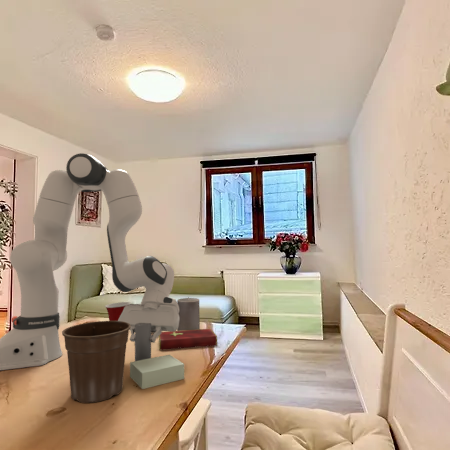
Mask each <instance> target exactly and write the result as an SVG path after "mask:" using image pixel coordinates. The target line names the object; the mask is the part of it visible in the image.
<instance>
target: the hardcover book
mask: <svg viewBox="0 0 450 450" xmlns="http://www.w3.org/2000/svg"><path fill="white" fill-rule="evenodd" d="M158 344H159V351H168V350H179V349H180V350H181V349H191V348H203V347H204V348H206V347H215V346H217V347H218V335H217V334H216V333H215V331H213V329H212V328H201V329H197V330H182V331H177V330H176V331H162V332H161V334H160V335H159V336H158Z"/></svg>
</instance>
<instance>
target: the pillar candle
mask: <svg viewBox="0 0 450 450" xmlns="http://www.w3.org/2000/svg"><path fill="white" fill-rule="evenodd" d="M176 301H177V303H178V306H179V317H180V319H179V326H178V329H177V330H176V331H182V330H197V329H200V328H201V326H200V324H201V323H200V299H199V298H195V297H190V296H187V297H185V298H180V299H179V298H178V299H177V300H176Z"/></svg>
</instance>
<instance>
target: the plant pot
mask: <svg viewBox="0 0 450 450" xmlns="http://www.w3.org/2000/svg"><path fill="white" fill-rule="evenodd" d="M130 328H131V325H130V324H129V323H127V322H123V321H109V320H102V321H101V320H99V321H90V322H84V323H80V324H79V323H78V324H76V325H71V326H69V327H66V328H64V329H63V330H62V332H61V333H62V336H63V338H64V348H65V350H66V353H67V365H68V374H69V387H70V388H69V389H70V397H71V399H72V400H73V401H76V400H77V402H79V403H86V404H90V403H91V404H93V403H100V402H102V401H103V402H104V401H106V400H107V401H108V400H109V399H111V398H112V396H118V395H119V394H120V393H121V392H122V391H123V388H124V373H125V361H126V351H127V343H128V341H129V332H130V330H129V329H130Z"/></svg>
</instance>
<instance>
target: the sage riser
mask: <svg viewBox="0 0 450 450" xmlns="http://www.w3.org/2000/svg"><path fill="white" fill-rule="evenodd" d="M129 378H130V379H132V381H133V382H134V383H136V385H138V387H139V388H140V389H142V390H144V389H149V388H153V387H156V386H160V385H165V384H169V383H173V382H176V381H181V380H184V379H185V363H183V362H182V361H181V360H179V359H177V358H175V357H174V356H173V355H171V354H165V355H161V356H156V357H155V356H154V357H151V358H149V359H144V360H139V361H135V360H134V361H130V363H129Z"/></svg>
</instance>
